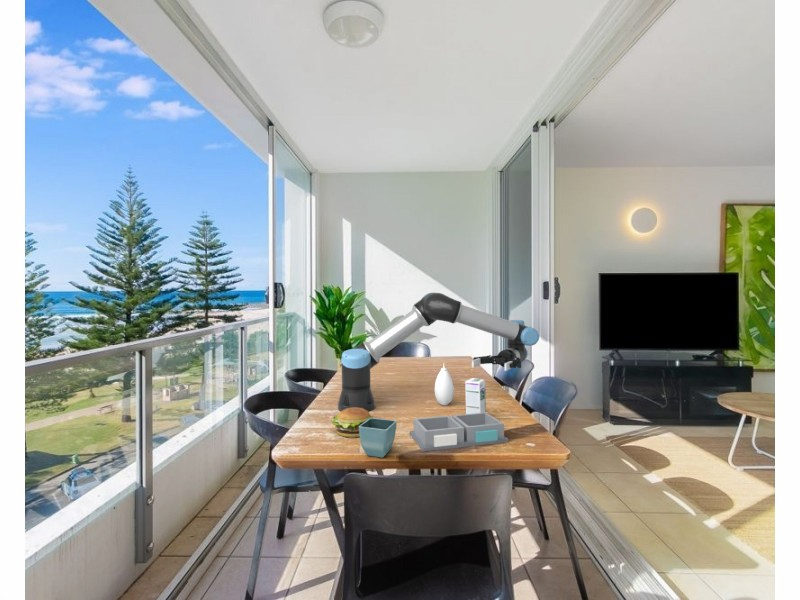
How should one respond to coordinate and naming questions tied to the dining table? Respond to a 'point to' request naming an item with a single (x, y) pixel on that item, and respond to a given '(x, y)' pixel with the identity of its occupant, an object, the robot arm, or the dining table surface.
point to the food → (350, 421)
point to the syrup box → (475, 396)
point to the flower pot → (377, 436)
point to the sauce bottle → (444, 387)
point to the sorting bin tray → (457, 431)
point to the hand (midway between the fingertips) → (488, 365)
